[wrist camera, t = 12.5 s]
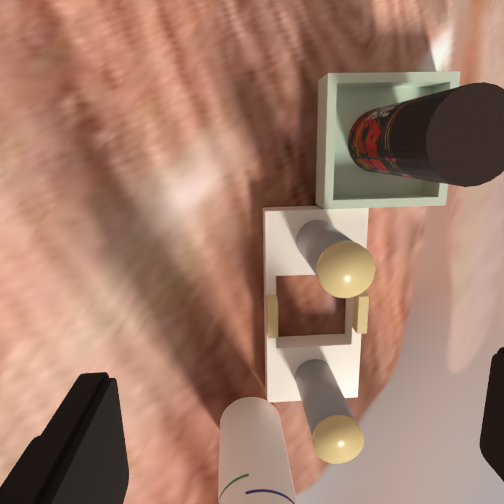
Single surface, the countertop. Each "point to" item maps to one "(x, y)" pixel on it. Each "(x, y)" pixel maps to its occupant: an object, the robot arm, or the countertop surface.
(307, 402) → the fuse block
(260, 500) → the cylindrical container
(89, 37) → the countertop surface
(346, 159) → the tray
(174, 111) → the countertop surface
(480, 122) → the deodorant
